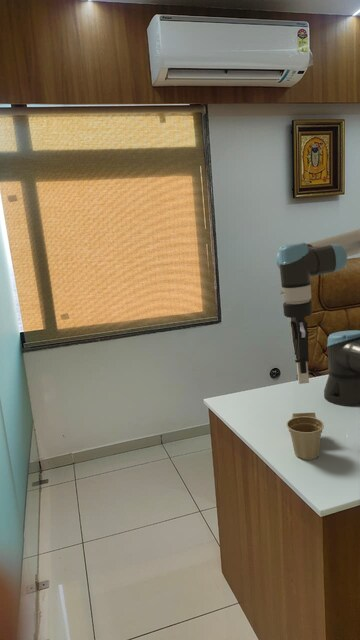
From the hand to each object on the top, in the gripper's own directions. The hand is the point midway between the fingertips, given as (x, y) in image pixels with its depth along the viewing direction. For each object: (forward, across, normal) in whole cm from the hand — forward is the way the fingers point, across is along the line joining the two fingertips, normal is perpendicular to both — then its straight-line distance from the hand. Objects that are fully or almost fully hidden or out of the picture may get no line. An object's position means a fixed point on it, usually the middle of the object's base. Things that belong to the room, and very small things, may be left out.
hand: (303, 382), depth 117 cm
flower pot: (+16, +11, -2) cm, 20 cm away
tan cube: (+9, +2, -1) cm, 10 cm away
